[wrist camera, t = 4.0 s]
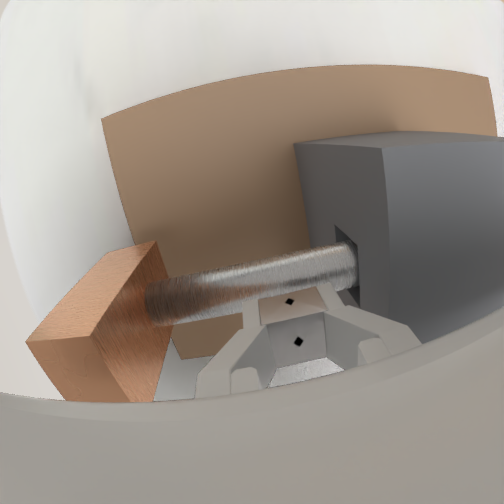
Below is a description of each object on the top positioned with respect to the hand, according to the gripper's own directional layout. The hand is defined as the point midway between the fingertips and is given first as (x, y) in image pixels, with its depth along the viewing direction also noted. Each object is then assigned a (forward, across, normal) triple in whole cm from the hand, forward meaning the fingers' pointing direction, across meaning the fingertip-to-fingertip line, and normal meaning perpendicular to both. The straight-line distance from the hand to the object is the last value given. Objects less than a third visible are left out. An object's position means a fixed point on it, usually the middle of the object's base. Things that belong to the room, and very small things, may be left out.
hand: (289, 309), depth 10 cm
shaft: (+5, +4, 0) cm, 7 cm away
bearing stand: (+11, +7, 0) cm, 13 cm away
